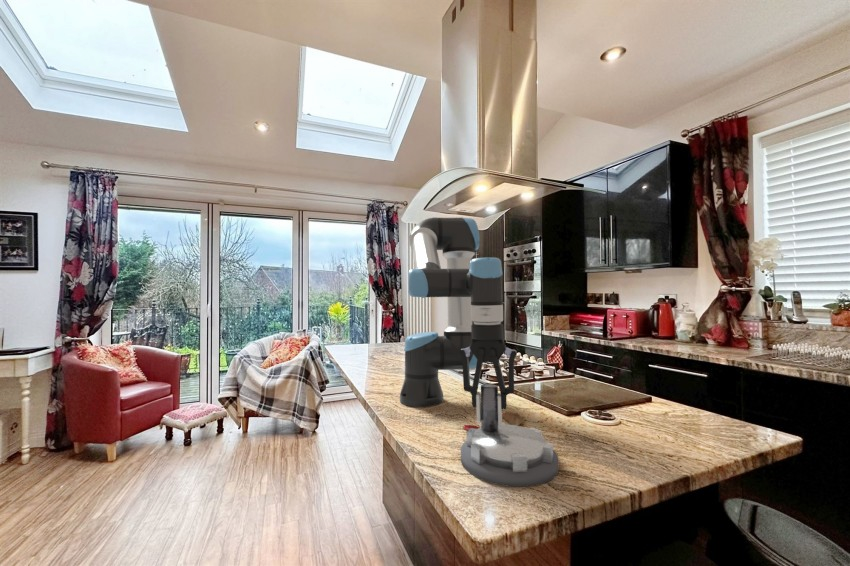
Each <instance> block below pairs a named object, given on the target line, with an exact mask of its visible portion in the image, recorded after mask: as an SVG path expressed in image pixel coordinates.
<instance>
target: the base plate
mask: <svg viewBox="0 0 850 566" xmlns="http://www.w3.org/2000/svg"><path fill="white" fill-rule="evenodd" d="M460 463H461V466H462V467H463V468H464V470H465V471H467V472H468V473H469V474H470V475H472V476H474V477H476V478H478V479H479V480H481V481H484V482H487V483H491V484H494V485H497V486H498V485H499V486H504V487H510V488H511V487H513V488H514V487H515V488H529V487H535V486H540V485H543V484H546V483H549V482H551V481H552V480H554V478H556V477H557V475H558V474H559V456H558V454H557V452H556V451H555V450H554V449H553V460H552V462H551V463H547V462H543V463H541V464H540V465H538V466H535V467H531V468H527V472H515V473H513V472H512V470H511V469H508V468H501V467H496V466H493V465H490V464H487V463H483V464H478V463H476V462H475V461H473V460H472V459H471V446H468V445H466V441H464V442H463V444H462V445H461V447H460Z"/></svg>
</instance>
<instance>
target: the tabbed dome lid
mask: <svg viewBox="0 0 850 566" xmlns="http://www.w3.org/2000/svg"><path fill="white" fill-rule="evenodd" d="M480 392H481V422H480V426H479V427H480V428H478V429H474V428H470V429H469V430H468V431H466V432H465V435H466V441H465V442H466V445H468V446H471V459H472V460H473V461H475V462H476V463H478V464H483V463H487V464H490V465H493V466H496V467H501V468H508V469H511V470H512V472H513V473H515V472H527V468H531V467H535V466H538V465H540V464H541V463H543V462H547V463H551V462H552V460H553V450H554V443H552V442H547V441H546V438H545V436H543V432H542V430H540V429H537V428H535V427H524V426H520V425H519V426H515V425H506V424H505V423H504V422H503V421H502V425H498V393H499V385H496V384H493V383H490V384H489V383H485V384H482V385H480Z"/></svg>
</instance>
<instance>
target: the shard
mask: <svg viewBox="0 0 850 566" xmlns="http://www.w3.org/2000/svg"><path fill="white" fill-rule="evenodd" d="M525 420H527V416H525V415H524V414H523V415H522V414H521V413H517V412H512V411H504V412H502V422H504V423H505V424H506V425H515V426H520V425H521V424H522V423H523V422H525Z"/></svg>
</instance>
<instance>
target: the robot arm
mask: <svg viewBox="0 0 850 566" xmlns="http://www.w3.org/2000/svg"><path fill="white" fill-rule="evenodd" d="M408 243H409V246H410V248H411V250H412V253H413V265H414V266H413V267H414V268H411V269H409V270H408V278H407V279H408V281H407V282H408V283H407V284H408V295H409V296H410V297H413V298H421V299H425V298H447V327H446V328H445V329H444V330H443V335H439V333H438V332H437V331H426V332H425V331H424V332H419V333H418V332H417V333H414V334H410V335H407V337H406V338H405V340H404V349H403V352H404V379H403V383H402V387H401V389H400V393H399V402H400V403H401V404H402V405H405V406H409V407H417V408H424V407H426V408H428V407H434V406H438V405H440V404H442V403H443V402H444V392H443V390H442V386H441V383H440V382H441V381H440V379H439V371H441V370H442V371H443V370H445V371H448V370H450V371H451V370H456V371H457V370H462V379H463V380H462V381H463V391H464V392H468V393H469V394H471V407H472V408H476V423H477V424H481V391H479V389H478V388H479V384H480V379H481V375H482V368H483V364H485V363H490V364H493V369H494V372H495V376H496V380H497V381H496V382H497V384H498V385H497V386H498V390H499V392H498V425H502V422H503V421H502V414H503V410H506V409H507V405H508V404H507V396H508V395H512V394H514V392H515V359H516V357H517V353H518V352H517V350H516V349H514V348H513V349H511V348H509V347H508V346H507V345H506V344H505V339H504V334H505V333H504V324H503V323H502V322H503V321H504V304H503V274H504V273H503V267H502V260H501V259H500V258H499V257H477V258H473V257H474V256H475V255H476V251H478V250H479V248H480V232H479V227H478V224H477V221H475V219H474V218H471V217H463V216H461V217H435V216H434V217H428V218H425V219H423V220H422V221H420V222H418V223H417V224H416V225H415V226H414V227H413V228H412V229H411V231H410V233H409V241H408ZM438 251H442V256H443V257H444V258H445V259H446V268H442V267H441V262H440V258H439V254H438ZM472 258H473V259H472ZM504 353H505V355H506V358H507V359H508V375H507V377H508V386H507V387H506V384H505V380H504V375H503V372H502V371H503V370H502V368H501V364H500V363H501V362H500V359H501V357H502V356H503V355H504ZM470 370H475V371H474V377H473V381H472V385H471V381H470V380H471V377H470Z"/></svg>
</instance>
